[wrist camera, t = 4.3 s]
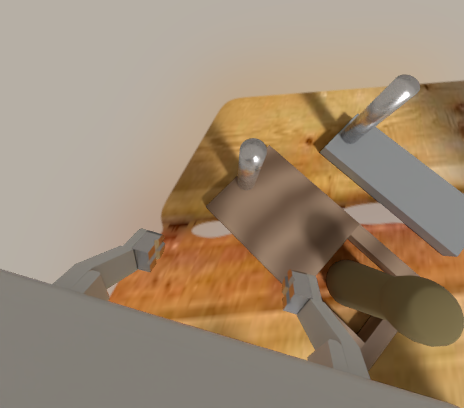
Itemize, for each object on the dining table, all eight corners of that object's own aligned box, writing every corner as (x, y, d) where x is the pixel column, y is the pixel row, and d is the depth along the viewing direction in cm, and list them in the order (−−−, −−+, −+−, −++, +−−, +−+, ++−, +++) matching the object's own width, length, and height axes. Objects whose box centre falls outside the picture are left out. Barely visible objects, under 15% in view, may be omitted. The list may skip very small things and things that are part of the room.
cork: (326, 257, 25) (398, 269, 14) (370, 262, 25) (476, 279, 14) (326, 304, 24) (403, 357, 13) (372, 309, 24) (490, 368, 13)
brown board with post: (417, 282, 24) (558, 315, 14) (359, 361, 22) (469, 467, 12) (267, 150, 28) (287, 97, 18) (207, 208, 26) (190, 187, 16)
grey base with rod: (473, 214, 26) (634, 197, 15) (443, 255, 25) (595, 266, 14) (350, 120, 29) (416, 53, 19) (319, 152, 28) (371, 100, 18)
